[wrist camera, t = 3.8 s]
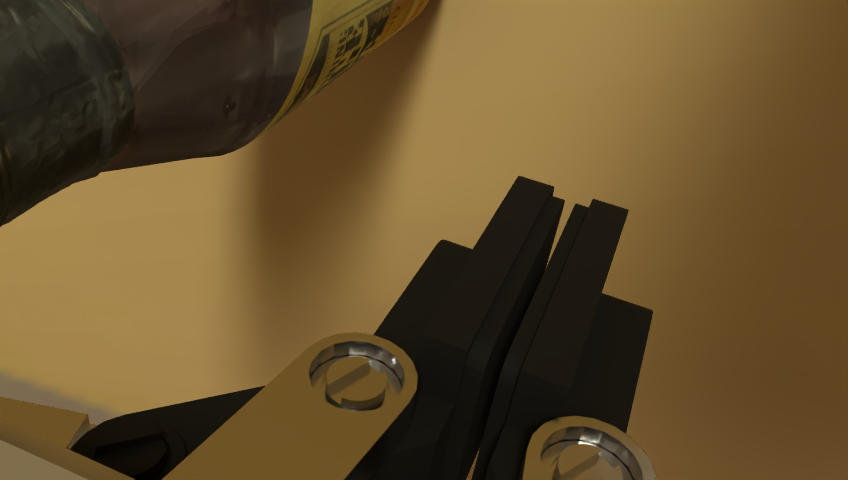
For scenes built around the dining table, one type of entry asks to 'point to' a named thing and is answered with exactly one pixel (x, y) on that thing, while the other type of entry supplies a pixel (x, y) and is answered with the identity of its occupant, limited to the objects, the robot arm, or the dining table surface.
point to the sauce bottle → (162, 79)
